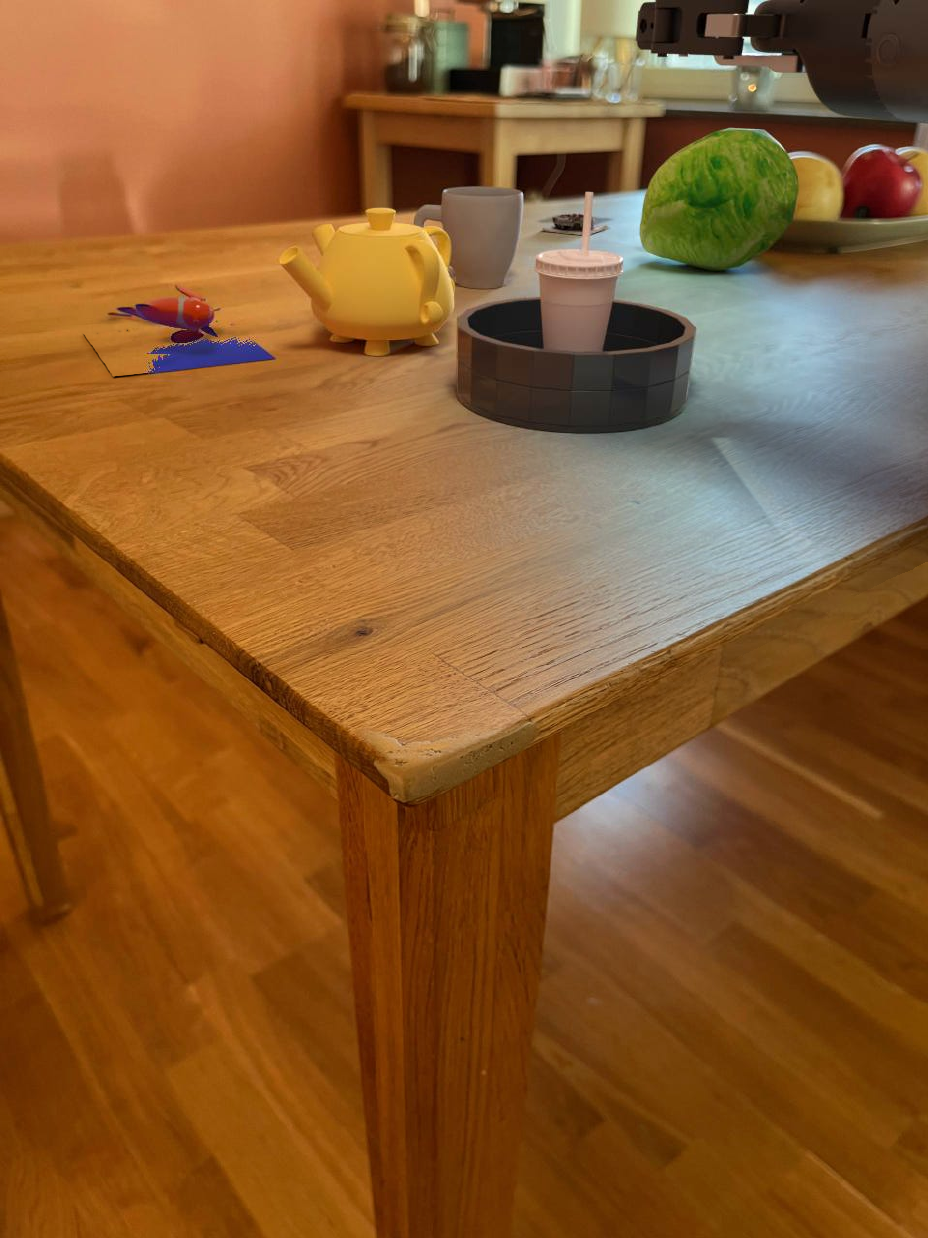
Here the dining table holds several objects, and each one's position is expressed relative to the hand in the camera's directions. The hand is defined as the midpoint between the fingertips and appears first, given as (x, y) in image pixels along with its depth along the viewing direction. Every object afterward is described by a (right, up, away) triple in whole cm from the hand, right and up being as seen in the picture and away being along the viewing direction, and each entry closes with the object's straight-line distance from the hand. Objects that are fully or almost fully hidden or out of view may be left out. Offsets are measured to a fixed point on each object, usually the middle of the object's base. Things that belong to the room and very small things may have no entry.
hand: (705, 26), depth 55 cm
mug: (-13, +4, +56) cm, 58 cm away
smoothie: (-5, -16, +20) cm, 26 cm away
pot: (-5, -16, +21) cm, 27 cm away
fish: (-39, -9, +31) cm, 51 cm away
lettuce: (+16, +10, +66) cm, 69 cm away
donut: (+3, +24, +89) cm, 93 cm away
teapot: (-22, -8, +34) cm, 41 cm away
